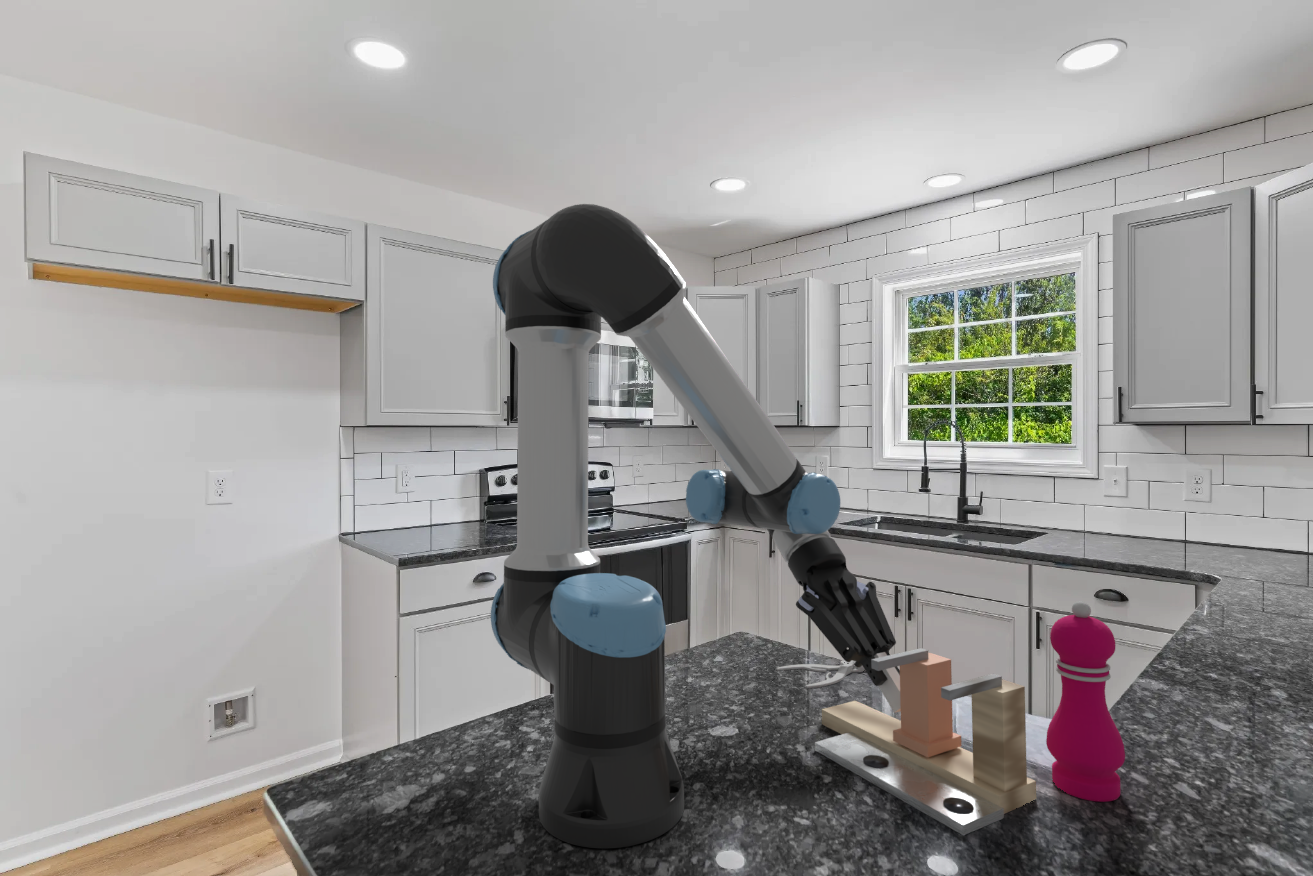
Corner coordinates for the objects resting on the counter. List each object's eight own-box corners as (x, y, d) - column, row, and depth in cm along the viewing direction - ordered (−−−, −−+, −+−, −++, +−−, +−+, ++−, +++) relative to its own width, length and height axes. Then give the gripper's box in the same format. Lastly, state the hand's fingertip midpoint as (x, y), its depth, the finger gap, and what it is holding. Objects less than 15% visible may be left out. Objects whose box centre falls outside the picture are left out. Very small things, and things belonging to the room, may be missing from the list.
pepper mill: (1053, 765, 79) (1049, 591, 79) (1129, 784, 74) (1125, 599, 75) (1041, 790, 73) (1036, 603, 74) (1122, 812, 69) (1117, 613, 69)
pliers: (775, 662, 114) (851, 651, 119) (775, 671, 114) (851, 660, 119) (807, 681, 105) (888, 668, 110) (808, 691, 105) (889, 678, 110)
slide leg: (894, 768, 74) (892, 666, 74) (860, 750, 79) (858, 654, 79) (961, 746, 79) (959, 650, 79) (926, 730, 84) (924, 640, 84)
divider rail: (965, 830, 66) (962, 695, 66) (792, 732, 89) (790, 632, 89) (1036, 800, 72) (1033, 675, 72) (855, 715, 94) (853, 620, 95)
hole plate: (963, 835, 65) (963, 823, 65) (815, 750, 84) (814, 741, 84) (1003, 818, 68) (1003, 806, 68) (851, 739, 87) (851, 730, 87)
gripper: (784, 538, 92) (881, 702, 78) (856, 530, 99) (959, 681, 84) (761, 571, 97) (849, 732, 82) (831, 562, 103) (924, 710, 88)
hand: (904, 706), depth 83 cm, fingers closed
